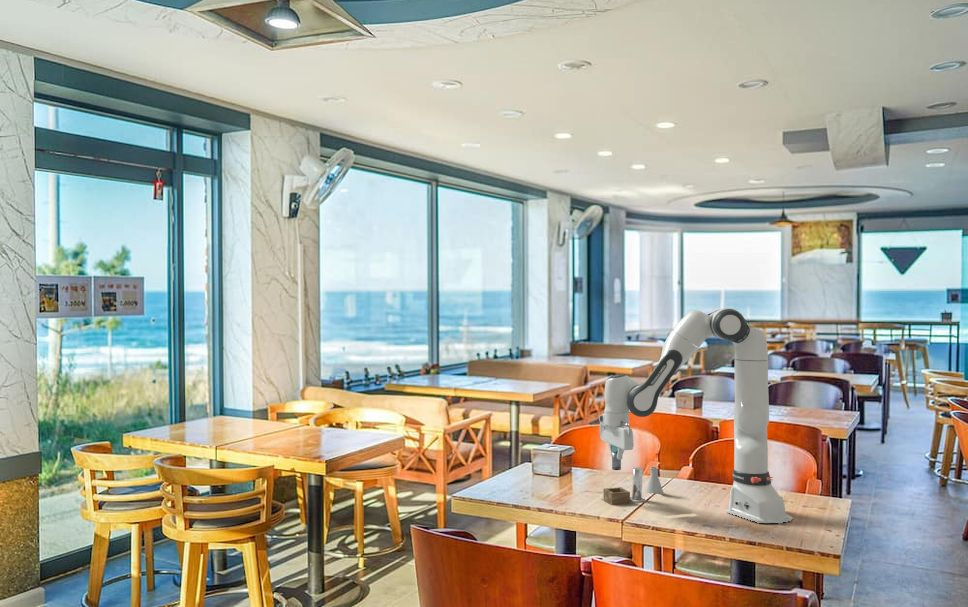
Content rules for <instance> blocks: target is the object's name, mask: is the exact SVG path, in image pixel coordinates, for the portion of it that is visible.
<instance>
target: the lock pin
mask: <svg viewBox="0 0 968 607" xmlns="http://www.w3.org/2000/svg"><path fill="white" fill-rule="evenodd" d="M643 473H644V471H643V468H642V467H633V468H632V489H631V492H632V493H631V497H632V499H634V500H641V499H642V498H643V496H642V494H643Z"/></svg>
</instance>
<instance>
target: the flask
mask: <svg viewBox="0 0 968 607" xmlns="http://www.w3.org/2000/svg"><path fill="white" fill-rule="evenodd" d="M649 469H650V475H649V480H648V482H647V484H646V488H645V490H644V492H646V493H647V494H653V495H654V494H659V495H660V496H663V495H664V493H665V492H664V490H663V487H662V484H661V480H660V478H659V471H658V470H659V469H660V468H659V467H658V466H650V467H649Z"/></svg>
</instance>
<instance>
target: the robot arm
mask: <svg viewBox="0 0 968 607" xmlns="http://www.w3.org/2000/svg"><path fill="white" fill-rule="evenodd" d="M712 336H714V337H716V338H718V339H720V340H723V341H728V342H731V343H732V345H733V348H734V408H733V438H734V439H733V441H734V442H733V445H734V446H733V448H734V450H733V452H734V454H733V459H734V460H733V461H734V462H733V464H734V465H733V466H734V468H732V480H733V483H732V486H731V488H730V492H729V500H728V501H729V503H728V508H726V511H725V512H726V514H729V513H730V514H729V515H732V514H733V516H735V515H737V516H736V517H738V516H739V517H738V518H741V517H742V518H741V519H744V518H745V519H744V520H747V519H748V520H747V521H750V520H751V521H750V522H752V521H755V522H757V523H756V524H759V523H778V524H784V523H783V522H786V523H789V522H788V521H790V522H792V521H793V520H794V518H793V516H791V515H790V514H788V513H787V512H786V506H785V504H786V503H785V501H784V498H783V497H782V496H781V495H780V494H779V493H778V492H777V490H776V489H775V488H774V486H773V485H772V481H773V478H774V477H773V476H771V475H770V472H769V471H768V470H769V467H768V466H769V463H768V462H769V456H768V454H769V448H768V446H769V445H768V444H769V443H768V425H769V423H770V402H769V401H770V399H769V397H770V395H769V394H770V393H769V350H768V343H767V342H768V341H767V337H766V334H765V332H764V331H763V330H761V329H759V328H756V327H750V326H749V324H748V322H747V321H746V319H745V317H744V316H743V314H742V313H740V312H739V311H738V310H736V309H734V308H730V307H723V308H720V309H717V310H715V311H713V312H710V313H708V314H706V313H705V312H703V311H700V310H696V309H695V310H694V309H693V310H690V311H688V312H687V313H686V314H685V315H684V316H683V317H682V318H680V320H679V321H678V323H677V324H675V326H674V327H673V328H672V329H671V331H670V332H669V334H668V335H667V338H666V339H665V341H664V343H663V345H662V349H661V354H660V358H659V361H658V363H657V364H656V366H655V367H654V368H653V370H652V371H651V373H650V374H649V375H648V377H647V378H646V380H645V381H644V383H641V382H639V381H637V380H636V379H635V380H634V379H633V378H631V377H629V376H628V374H625V373H621V374H615V375H614V374H613V375H610V376H609V377H608V378H606V380H605V384H604V393H603V394H604V395H603V396H604V397H603V398H604V402H605V404H604V406H605V407H604V411H603V413H602V414H600V415H599V416H598V420H599V437H600V440H601V441H602V442H605V443H606V444H608V448H609V451H610V457H612V445H614V446H616V447H617V450H618V453H617V454H616V458H617V459H618V460H621V461H622V460H623V454H624V452H625V451H632V450H633V449H634V444H635V442H634V432H633V429H632V428H631V427H630V413H631V414H632V415H634V416H635V417H639V418H644V417H645V418H646V417H649V416H650V415H652V414H653V413H654V411H655V410H656V408H657V406H658V402H659V401H658V400H659V397H660V395H661V393H662V391H663V389H664V388H665V387H666V386H667V384H668V382H670V380H671V378H672V377H673V375H674V374H675V373H676V372H677V371H678V370H679V369H680V368H681V367H683V366H684V364H686V363H687V362H688V361H689V360H690V359H691V358H692V357H693V356H694V355H695V353H697V351H698V350H699V348H700V347H701V346H702V344H703V343H704V342H705V341H706V340H707V339H708V338H710V337H712ZM792 519H793V520H792ZM791 520H792V521H791ZM755 522H754V523H755Z"/></svg>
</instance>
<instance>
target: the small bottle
mask: <svg viewBox="0 0 968 607" xmlns="http://www.w3.org/2000/svg"><path fill="white" fill-rule="evenodd" d="M617 453H618V450H617V447H616V446H614V445H612V456H611V469H612V470H613V471H620V470H622V460H618V459H617V458H616V454H617Z"/></svg>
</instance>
